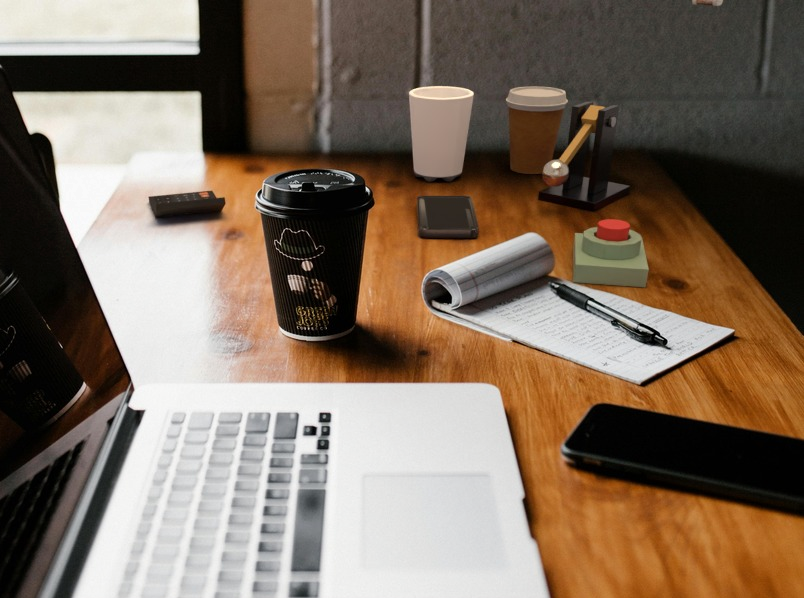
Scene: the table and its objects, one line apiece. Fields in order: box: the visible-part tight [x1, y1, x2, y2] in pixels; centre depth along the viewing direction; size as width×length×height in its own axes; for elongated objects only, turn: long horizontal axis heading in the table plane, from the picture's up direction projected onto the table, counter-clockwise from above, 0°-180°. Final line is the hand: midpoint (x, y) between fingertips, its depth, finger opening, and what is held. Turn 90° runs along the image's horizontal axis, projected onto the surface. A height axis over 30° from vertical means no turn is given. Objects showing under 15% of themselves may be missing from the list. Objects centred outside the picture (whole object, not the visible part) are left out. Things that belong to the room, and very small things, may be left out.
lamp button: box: [596, 218, 631, 242], centre depth 100 cm, size 4×4×2 cm
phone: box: [416, 194, 480, 239], centre depth 118 cm, size 8×1×15 cm
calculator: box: [148, 190, 226, 218], centre depth 122 cm, size 9×12×3 cm
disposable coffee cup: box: [505, 85, 569, 175], centre depth 137 cm, size 10×10×12 cm
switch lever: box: [541, 104, 606, 187], centre depth 120 cm, size 14×4×4 cm
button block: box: [572, 226, 650, 288], centre depth 101 cm, size 11×8×4 cm
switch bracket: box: [537, 101, 631, 212], centre depth 124 cm, size 11×9×13 cm
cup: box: [408, 85, 475, 183], centre depth 133 cm, size 10×10×13 cm
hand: (706, 4), depth 99 cm, fingers closed
